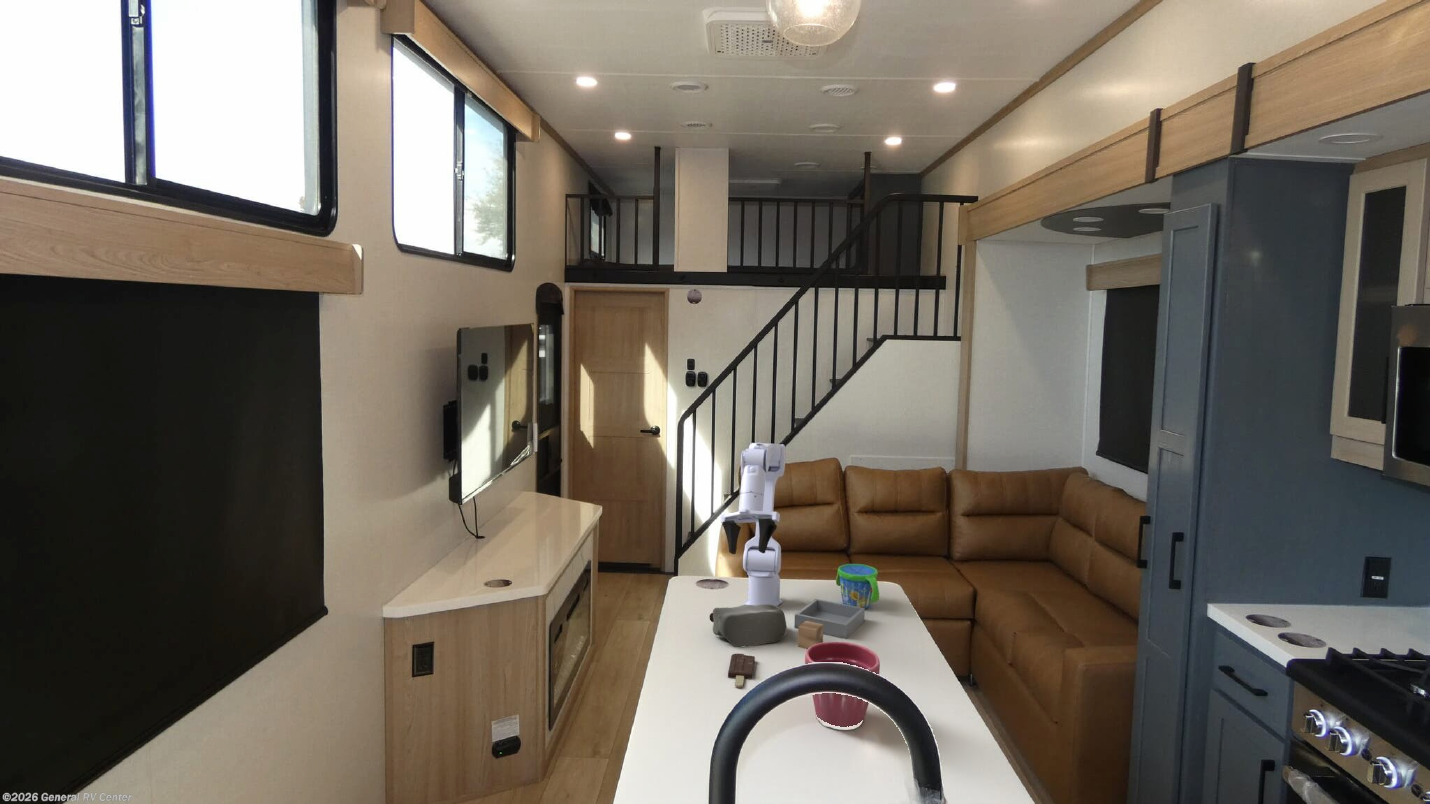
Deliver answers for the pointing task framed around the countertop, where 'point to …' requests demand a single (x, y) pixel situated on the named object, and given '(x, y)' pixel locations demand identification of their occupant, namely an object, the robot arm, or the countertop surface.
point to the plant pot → (840, 706)
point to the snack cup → (858, 584)
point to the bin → (832, 617)
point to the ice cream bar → (741, 668)
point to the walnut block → (810, 634)
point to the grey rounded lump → (749, 624)
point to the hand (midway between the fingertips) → (746, 552)
